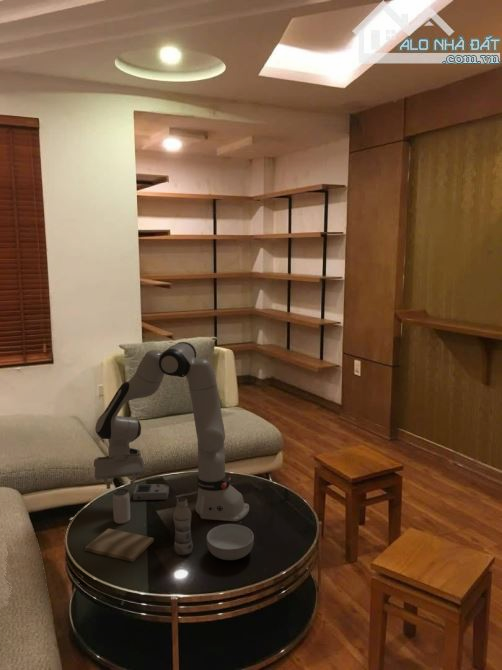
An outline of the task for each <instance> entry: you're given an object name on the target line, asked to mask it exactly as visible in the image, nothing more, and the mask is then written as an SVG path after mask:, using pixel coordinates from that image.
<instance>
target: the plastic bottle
mask: <svg viewBox="0 0 502 670" xmlns="http://www.w3.org/2000/svg"><path fill="white" fill-rule="evenodd" d="M172 516H173V518H172V519H173V522H174V532H175V534H174V537H175V538H174V544H173V548H174V552H175V553H176V554H177V555H179V556H187V555H189V554H191V553H192V551H193V548H194V544H193V540H192V531H191V524H192V511H191V509H190V508H189V506H188V498H186V497H179V498H177V499H176V507H175V509H174V510H173V513H172Z"/></svg>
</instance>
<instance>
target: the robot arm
mask: <svg viewBox="0 0 502 670" xmlns="http://www.w3.org/2000/svg"><path fill="white" fill-rule="evenodd" d="M135 371H136V372H135V373H134V375H133V376H132V377H131V378H130V379H129V380H128V381H126V382H123V383H122V384H121V385H120V386H119V388H118V389H117V391H116V392H115V394H114V396H113V397H112V398H111V401H110V402H109V403H108V405H107V407H106V408H105V410H104V411H103V413H102V414H101V415H100V416H99V417H98V419H97V421H96V422H95V423H96V424H95V428H94V429H95V430H94V431H95V433H96V434H97V435H98V437H99V438H100V439H102V440H107V441H108V456H98V457H97V458H95V459H94V460H93V467H94V479H96V480H97V481H98V480H103V482H104V483H105V485H106V490H110V489H111V483H110V482H108V479H117V478H127V477H128V478H129V477H132V480H130V481H129V482H130V487H134V486H135V481H136V480H137V476H143V475H144V474H145V473H146V471H145V462H144V459H143V457H142V455H141V454H142V453H141V450H140V449H137V448H132V447H130V443H133V442H134V441H136V440H137V439H138V438H140V436H141V433H142V425H141V423H140V420H139V419H138V418H135V417H131V416H122V415H119V413H120V411H121V410H122V408H123V406H124V405H125V404H126V403H128V402H130V401H133V400H136V399H143V398H148V397H151V396H152V395H154V394H156V392H158V391H159V389H160V386H161V383H162V381H163V379H164V376H165V375H167V376H170V377H179V378H184V377H186V379H187V382H188V388H189V389H188V390H189V394H190V399H191V405H192V412H193V420H194V424H195V425H194V426H195V433H196V438H197V471H198V472H197V474H198V475H197V481H196V482H197V491H198V492H197V498H196V499H197V500H196V504H195V507H194V509H195V512H196V514H198V515H199V517H200V519H202V520H214V521H224V522H225V521H226V522H227V521H228V522H239V521H240V520H243V519H244V518H245V517H246V516H247V515H248V513H249V512H250V505H249V503H245V501H244V497H243V494H242V493H241V492H239V491H238V490H237V489H236V488H235V487H234V486H232V485H231V484H230V481H231V480H232V479H231V477H229V478H228V477H227V475H226V455H225V454H226V453H225V440H226V433H225V432H226V431H225V427H224V420H223V415H222V408H221V403H220V397H219V390H218V386H217V380H216V375H215V372H214V368H213V366H212V363H211V362H210V360H208V359H206V358H197V351H196V348H195V347H194V345H192V344H191V343H190V342H186V341H181V342H177V343H175V344H174V345H171V346H169V347H168V348H167V349H165V350H164V351H163V352H162V351H160V350H156V349H153V350H152V349H151V350H148V351H147V352H146V353H145V354H144V356H143V357H142V359H141V360H140V362H139V364H138V366H137V369H136V370H135Z"/></svg>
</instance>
